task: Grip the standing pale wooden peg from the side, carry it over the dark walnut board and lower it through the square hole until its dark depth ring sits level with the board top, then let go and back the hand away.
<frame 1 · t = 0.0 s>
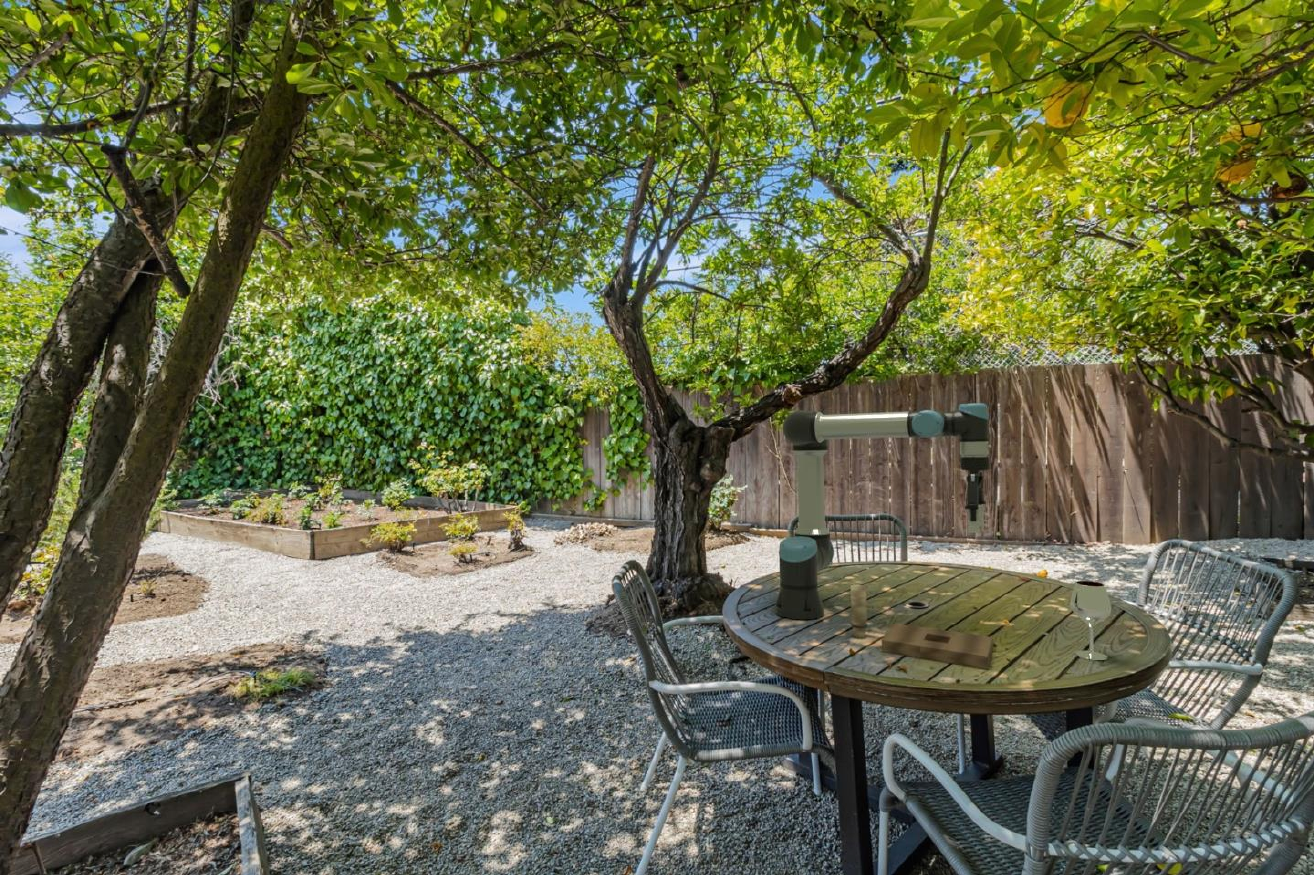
hand: (976, 529, 172), 28 cm above the table, tool pointing down, fingers open, 13 cm apart
wineglass: (1091, 657, 146), on the table
peg: (859, 636, 165), on the table
board: (937, 650, 153), on the table
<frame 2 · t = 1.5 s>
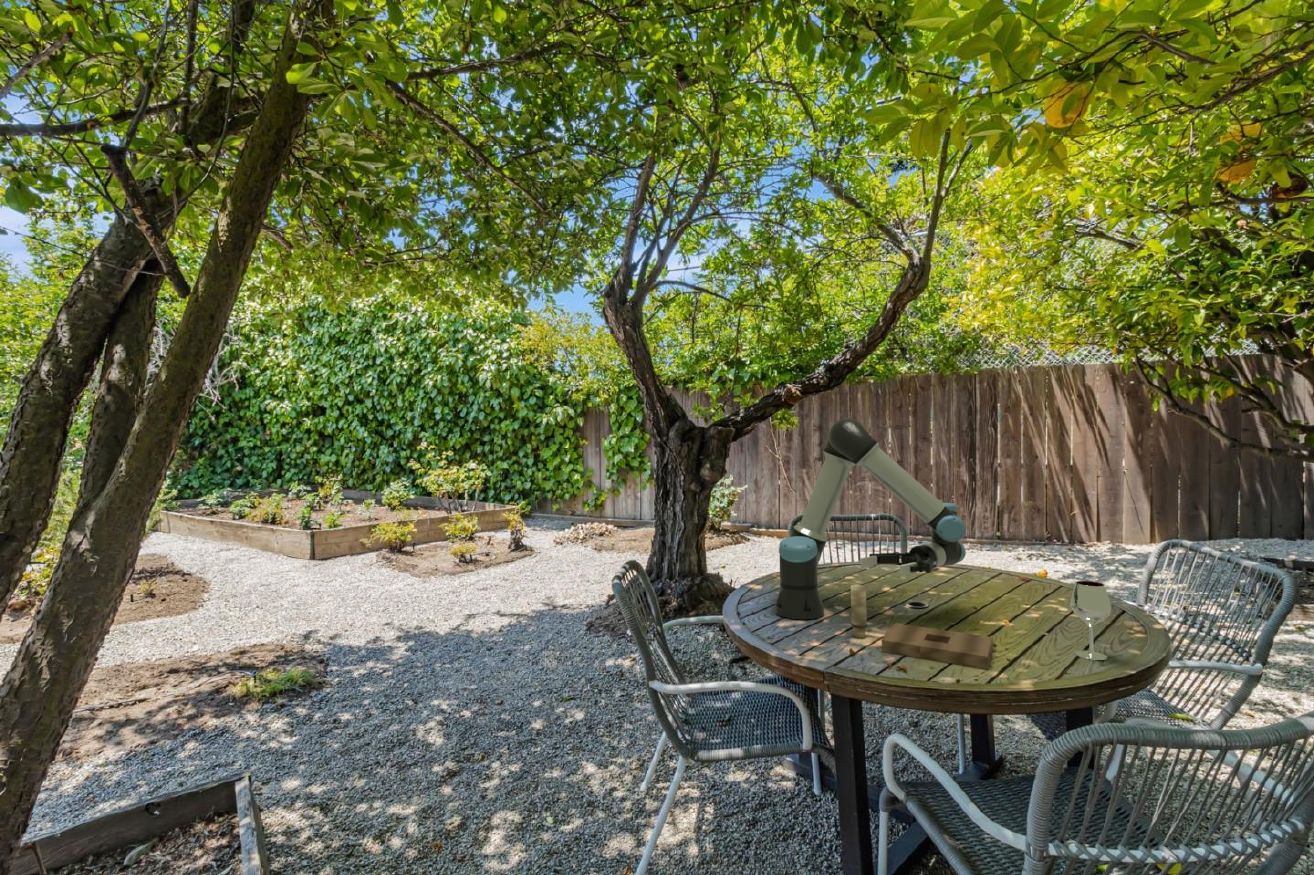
hand: (880, 566, 170), 18 cm above the table, tool horizontal, fingers open, 13 cm apart
nothing on the table moved.
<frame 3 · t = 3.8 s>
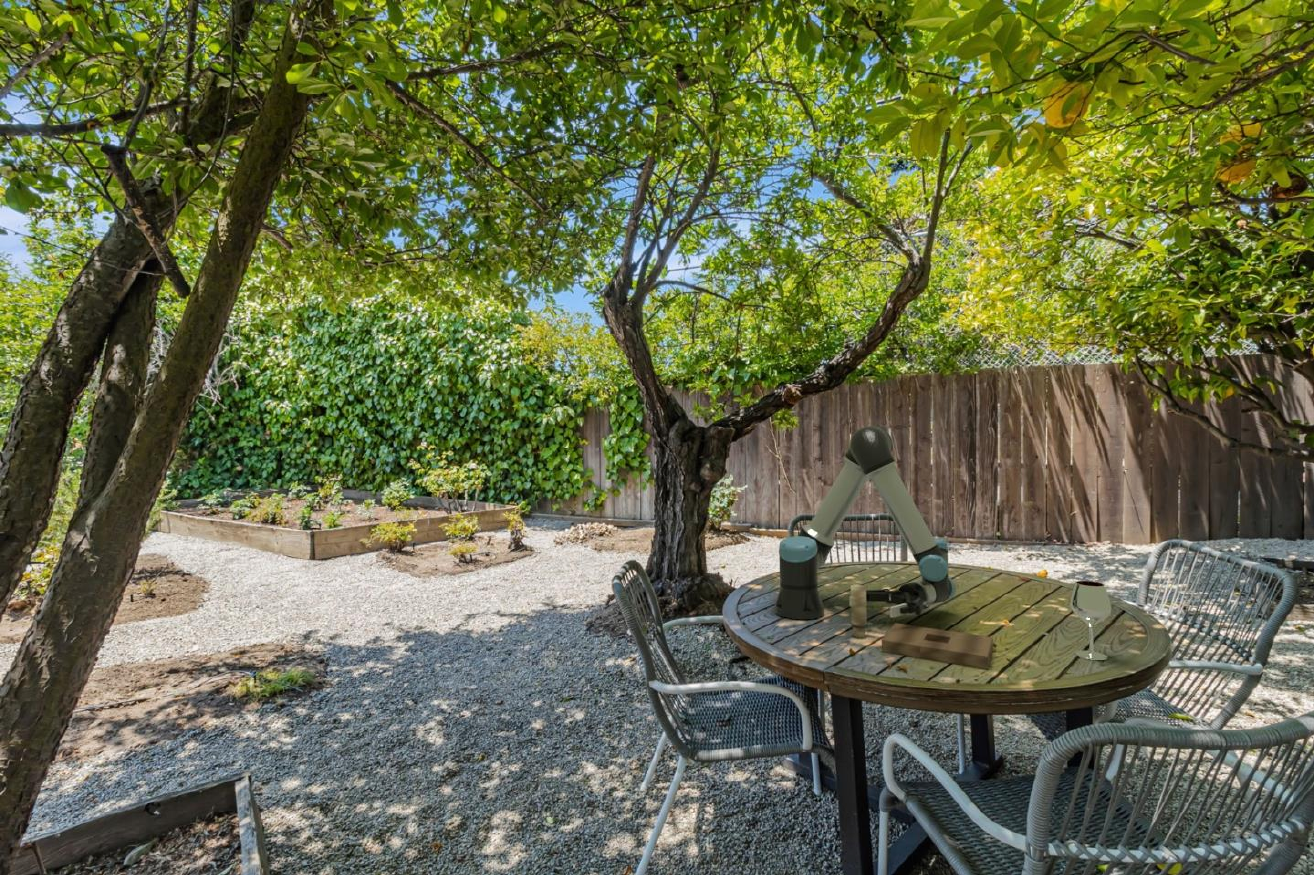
hand: (869, 606, 166), 8 cm above the table, tool horizontal, fingers open, 13 cm apart
nothing on the table moved.
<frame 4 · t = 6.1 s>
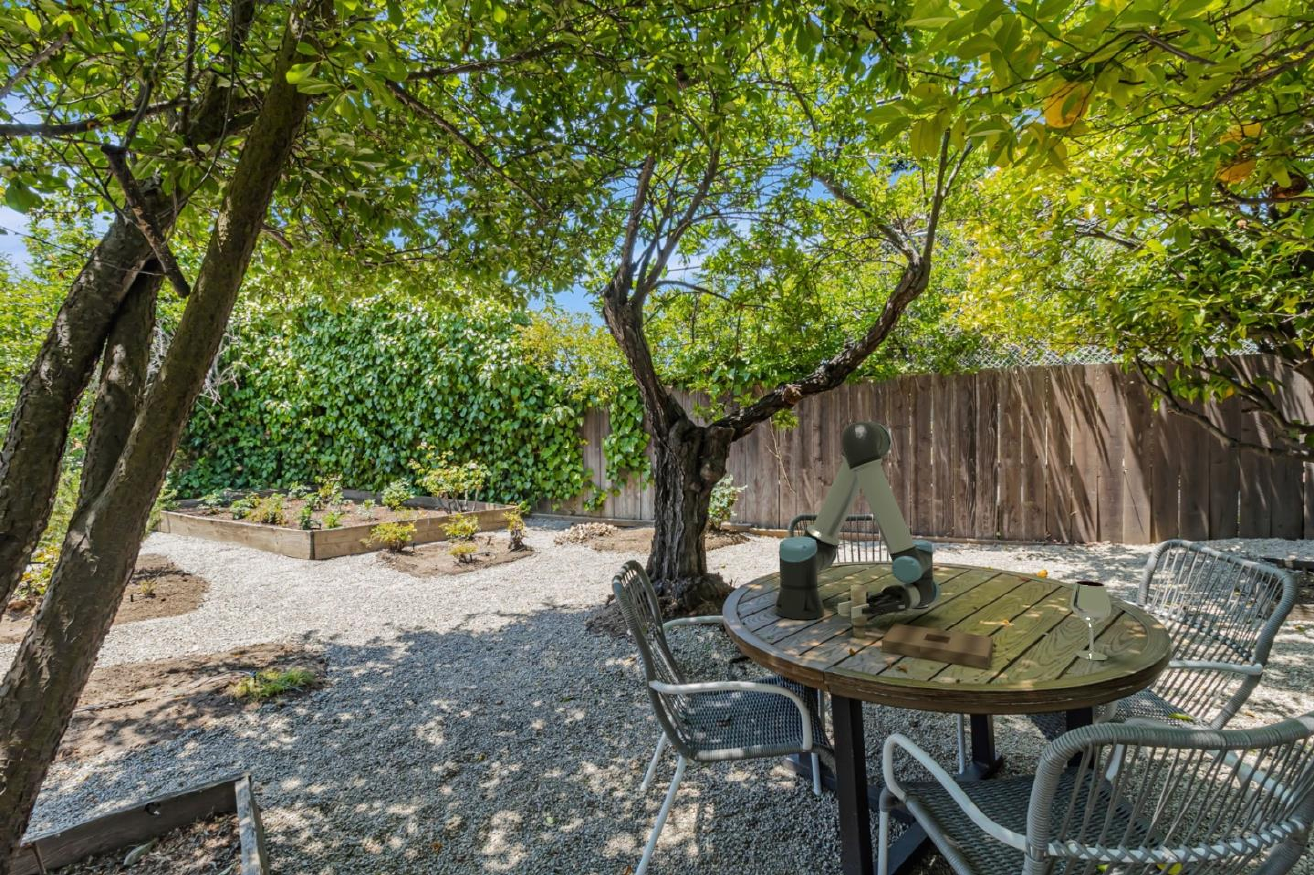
hand: (845, 610, 162), 8 cm above the table, tool horizontal, fingers closed on peg, 4 cm apart
peg: (859, 636, 165), on the table, touching gripper
everything else where it was.
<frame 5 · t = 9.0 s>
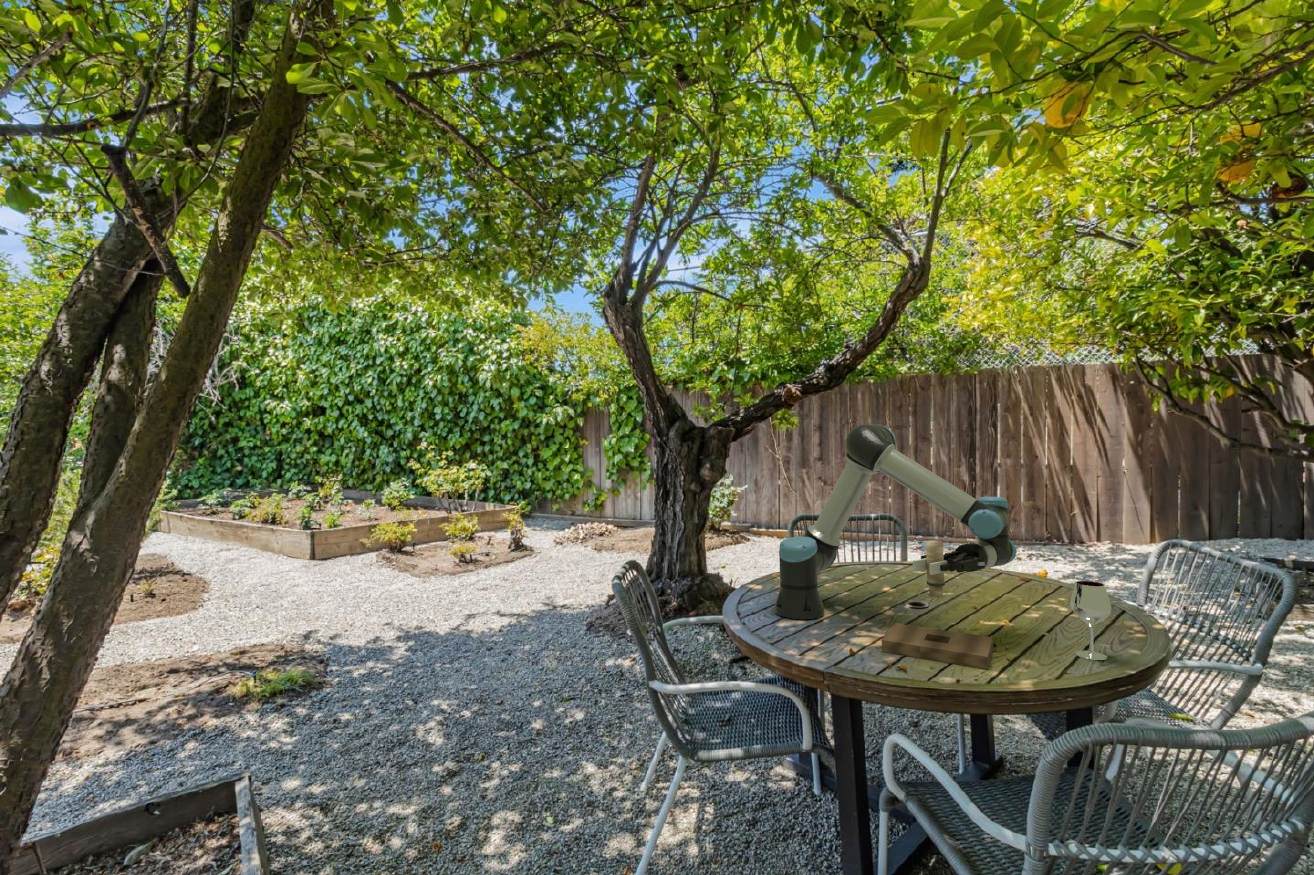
hand: (922, 567, 150), 22 cm above the table, tool horizontal, fingers closed on peg, 4 cm apart
peg: (936, 595, 153), point 14 cm above the table, touching gripper
everything else where it was.
when the fingers open (9 cm above the table, at t = 12.2 s): peg stays where it is, resting in board.
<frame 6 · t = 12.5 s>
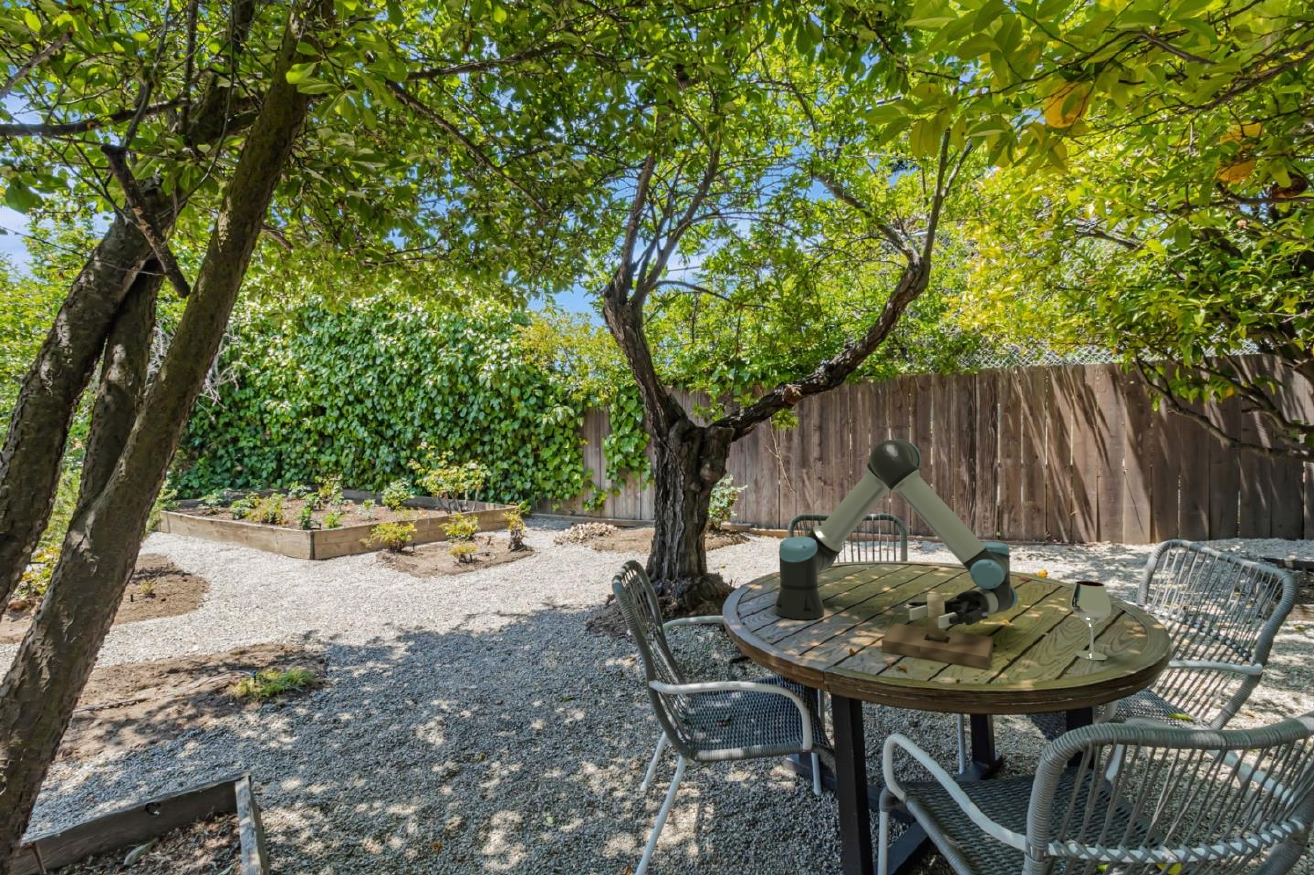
hand: (925, 618, 150), 9 cm above the table, tool horizontal, fingers open, 7 cm apart
peg: (937, 650, 153), resting in board
everything else where it was.
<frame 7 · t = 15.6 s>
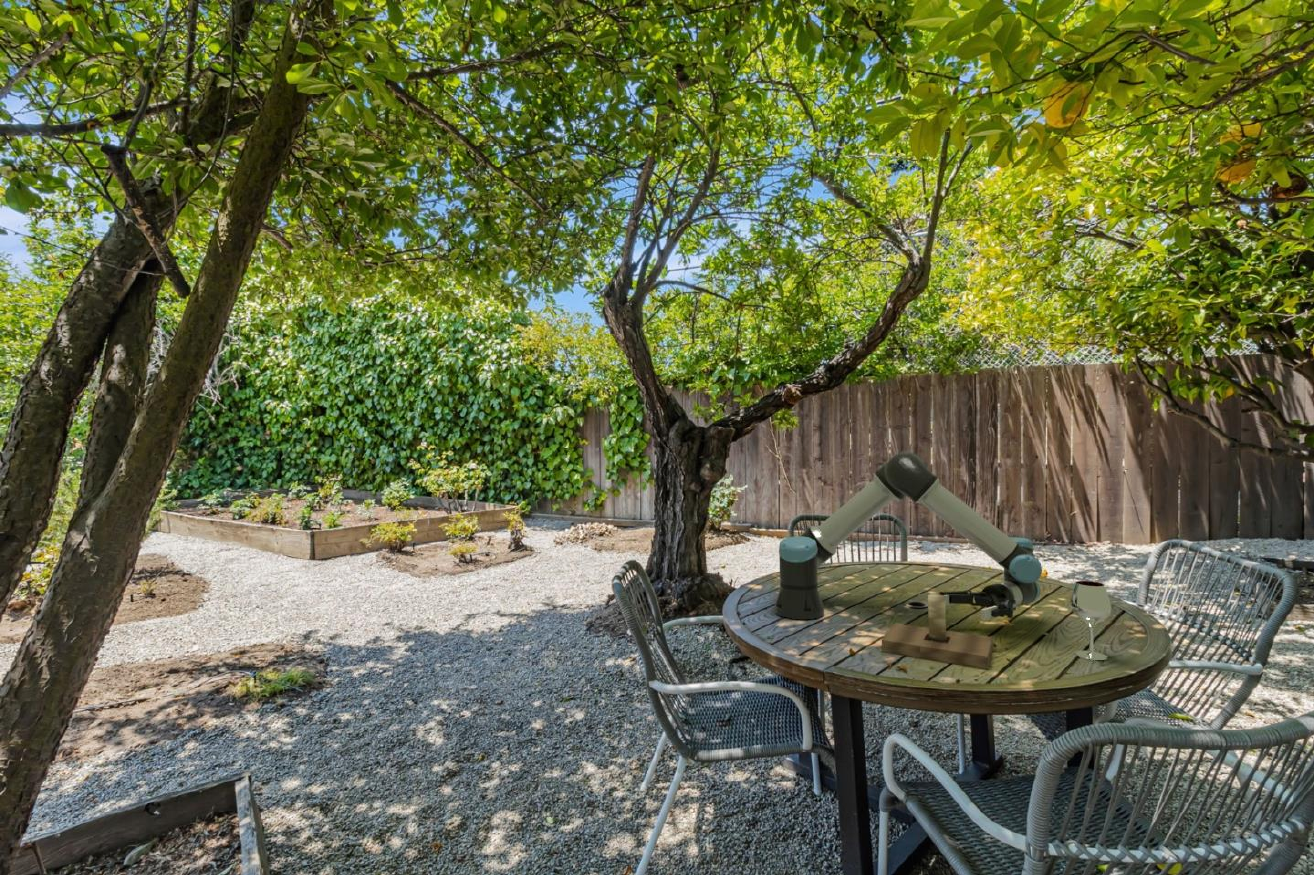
hand: (957, 609, 157), 9 cm above the table, tool horizontal, fingers open, 13 cm apart
nothing on the table moved.
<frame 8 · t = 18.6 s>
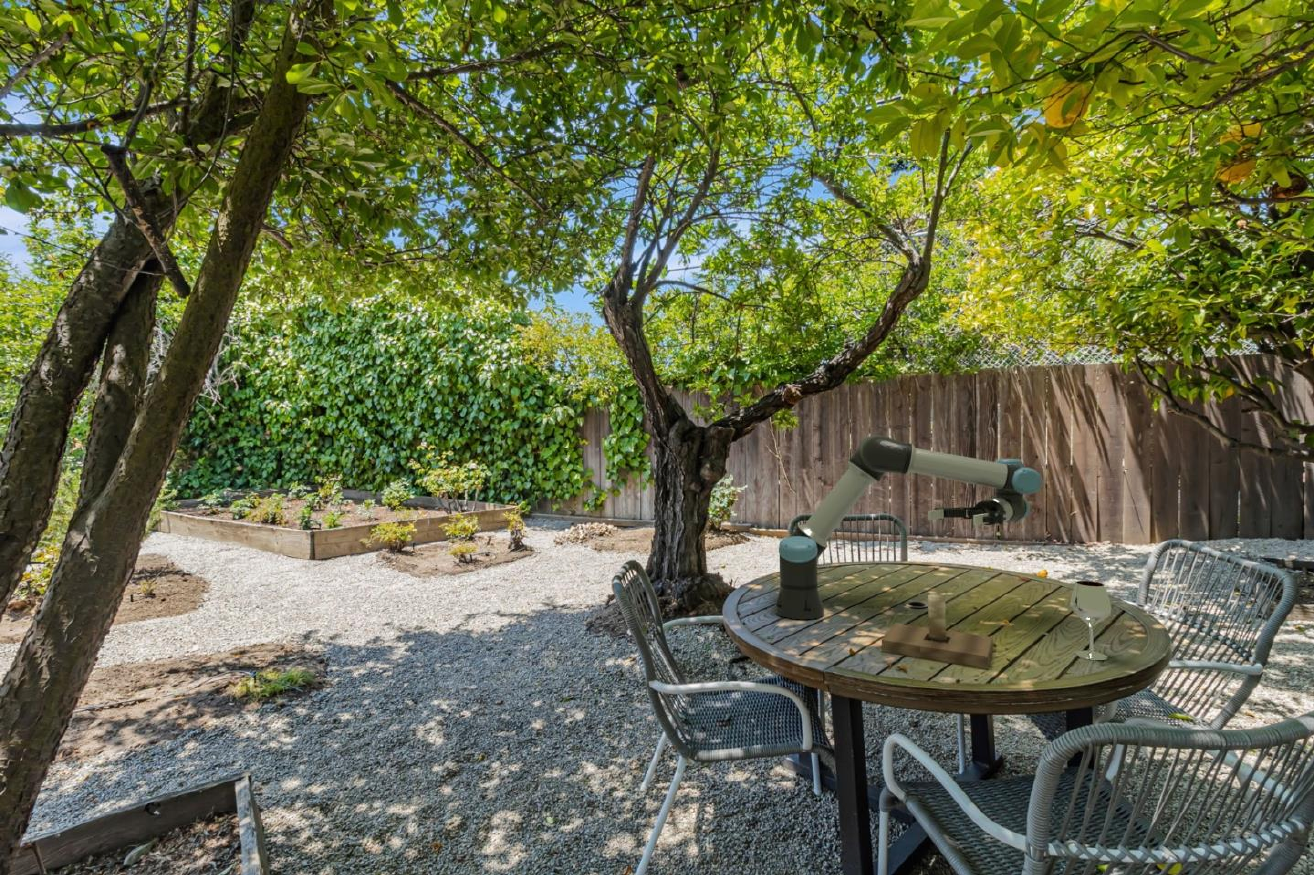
hand: (951, 518, 168), 32 cm above the table, tool horizontal, fingers open, 13 cm apart
nothing on the table moved.
at the end: peg 0.1 cm off-centre on the board, point 0.0 cm above the board's base; peg tilted 0°; the gripper is holding nothing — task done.
